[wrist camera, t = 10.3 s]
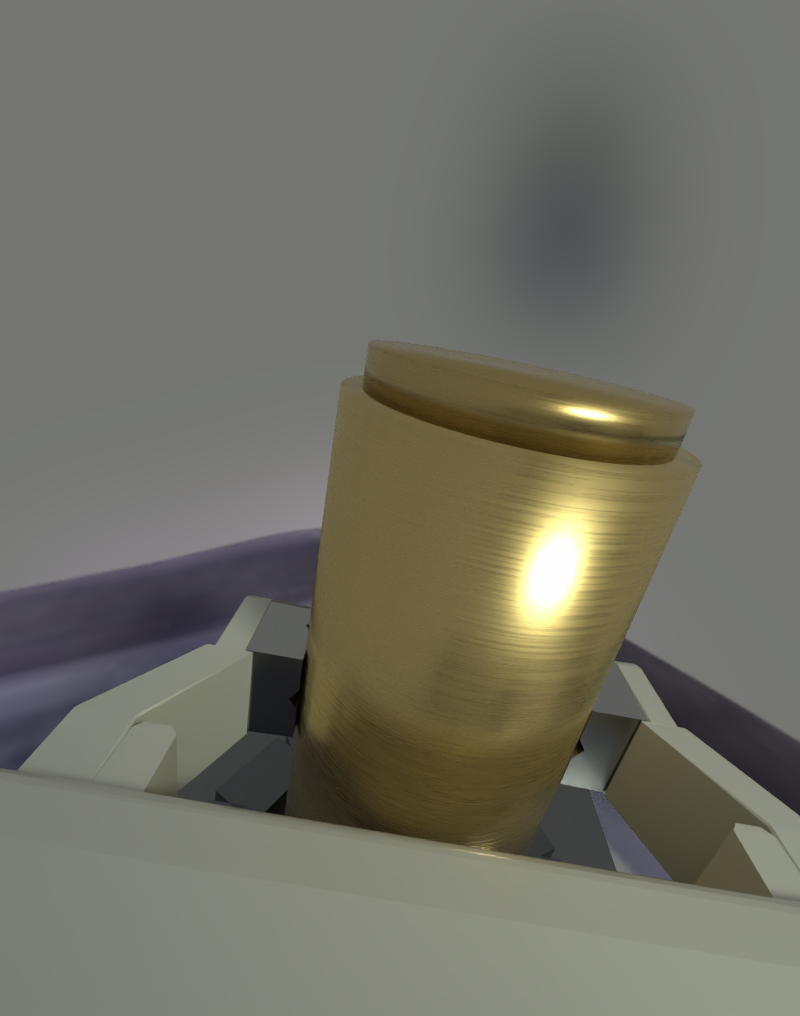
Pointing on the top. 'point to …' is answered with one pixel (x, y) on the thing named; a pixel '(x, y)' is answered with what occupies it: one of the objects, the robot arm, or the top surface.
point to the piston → (474, 587)
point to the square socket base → (265, 777)
